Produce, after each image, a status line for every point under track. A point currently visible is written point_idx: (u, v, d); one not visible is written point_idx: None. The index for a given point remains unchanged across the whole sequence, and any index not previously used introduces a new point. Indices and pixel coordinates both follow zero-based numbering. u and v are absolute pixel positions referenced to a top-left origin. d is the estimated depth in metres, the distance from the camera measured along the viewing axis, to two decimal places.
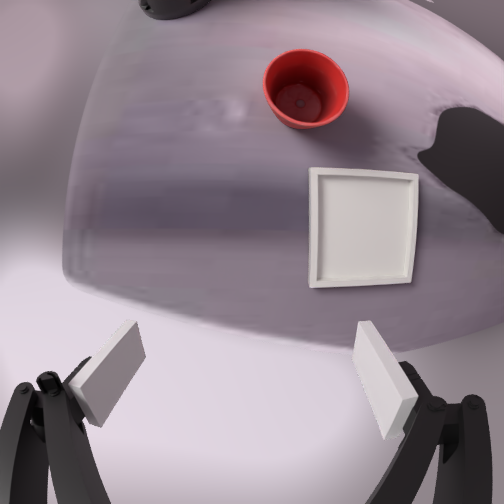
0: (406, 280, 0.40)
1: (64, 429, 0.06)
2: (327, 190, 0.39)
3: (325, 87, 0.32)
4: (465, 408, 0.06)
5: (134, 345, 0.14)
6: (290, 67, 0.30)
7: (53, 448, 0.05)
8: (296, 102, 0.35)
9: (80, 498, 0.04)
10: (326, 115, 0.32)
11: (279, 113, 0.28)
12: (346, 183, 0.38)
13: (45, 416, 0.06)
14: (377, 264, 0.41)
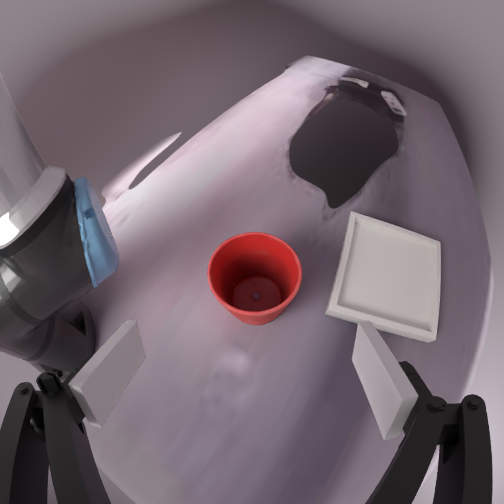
0: (438, 245, 0.39)
1: (64, 429, 0.06)
2: (352, 301, 0.37)
3: (252, 262, 0.38)
4: (465, 408, 0.06)
5: (134, 345, 0.14)
6: (220, 282, 0.34)
7: (53, 448, 0.05)
8: (254, 299, 0.38)
9: (80, 498, 0.04)
10: (283, 272, 0.36)
11: (276, 309, 0.28)
12: (349, 281, 0.39)
13: (45, 416, 0.06)
14: (423, 271, 0.38)
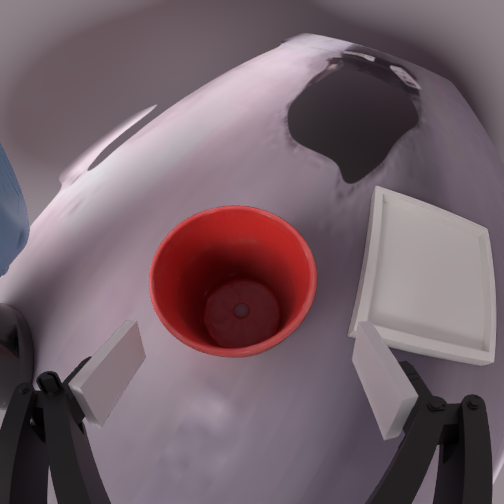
0: (486, 233, 0.25)
1: (64, 430, 0.06)
2: (387, 315, 0.23)
3: (233, 257, 0.24)
4: (465, 408, 0.06)
5: (134, 345, 0.14)
6: (179, 291, 0.20)
7: (53, 448, 0.05)
8: (237, 315, 0.24)
9: (80, 498, 0.04)
10: (282, 273, 0.22)
11: (270, 344, 0.14)
12: (380, 285, 0.25)
13: (45, 416, 0.06)
14: (472, 268, 0.25)
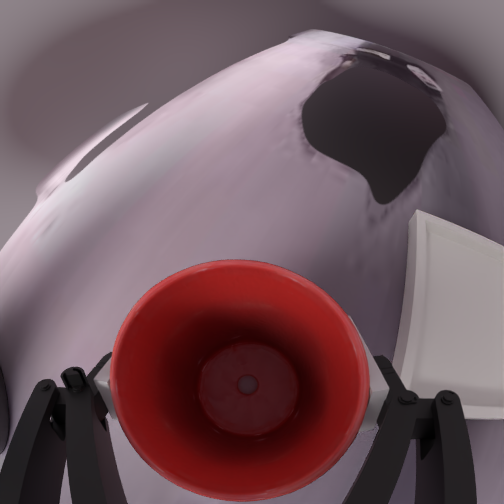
0: None
1: (86, 427, 0.07)
2: (428, 381, 0.16)
3: (236, 321, 0.16)
4: (439, 404, 0.07)
5: None
6: (159, 376, 0.13)
7: (73, 445, 0.06)
8: (243, 391, 0.17)
9: (96, 497, 0.04)
10: (307, 348, 0.15)
11: (295, 488, 0.07)
12: (423, 343, 0.17)
13: (67, 412, 0.07)
14: None
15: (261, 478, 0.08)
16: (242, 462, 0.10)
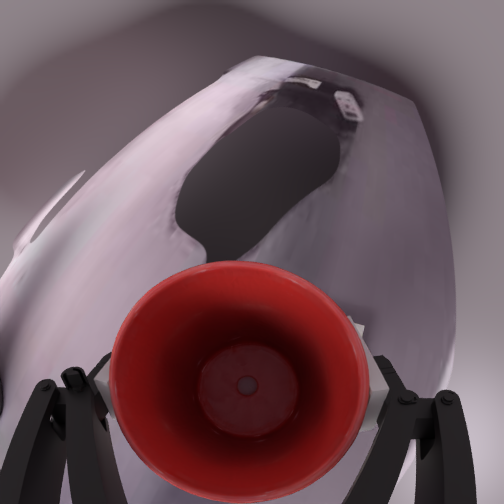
0: (359, 332, 0.29)
1: (86, 427, 0.07)
2: None
3: (235, 322, 0.16)
4: (439, 404, 0.07)
5: None
6: (159, 377, 0.13)
7: (73, 445, 0.06)
8: (242, 392, 0.17)
9: (96, 497, 0.04)
10: (306, 350, 0.15)
11: (294, 490, 0.07)
12: None
13: (67, 412, 0.07)
14: None
15: (260, 480, 0.08)
16: (241, 463, 0.10)
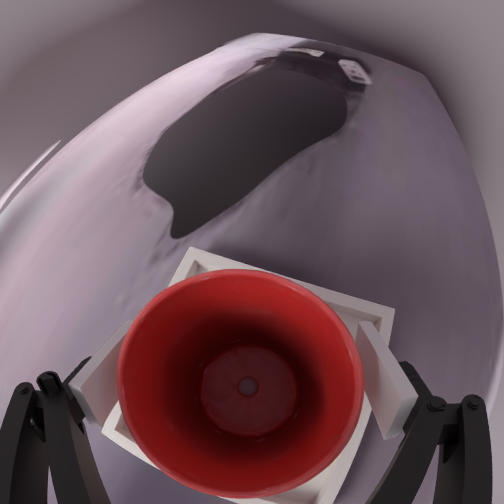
0: (388, 319, 0.19)
1: (64, 429, 0.06)
2: None
3: (237, 325, 0.17)
4: (465, 408, 0.06)
5: None
6: (163, 379, 0.13)
7: (53, 448, 0.05)
8: (243, 393, 0.17)
9: (80, 498, 0.04)
10: (305, 352, 0.15)
11: (293, 486, 0.07)
12: None
13: (45, 416, 0.06)
14: None
15: (261, 476, 0.09)
16: (243, 461, 0.11)
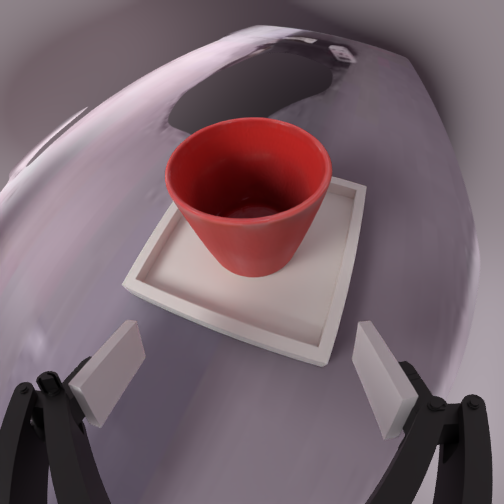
0: (361, 191, 0.25)
1: (64, 429, 0.06)
2: (171, 277, 0.23)
3: (246, 176, 0.23)
4: (465, 408, 0.06)
5: (134, 345, 0.14)
6: (192, 197, 0.20)
7: (53, 448, 0.05)
8: None
9: (80, 498, 0.04)
10: (295, 187, 0.22)
11: (290, 213, 0.14)
12: (175, 246, 0.25)
13: (45, 416, 0.06)
14: (325, 233, 0.25)
15: None
16: None
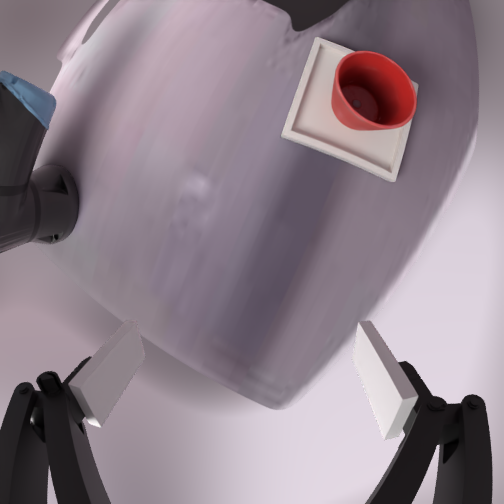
0: (415, 87, 0.31)
1: (65, 430, 0.06)
2: (309, 127, 0.35)
3: (357, 73, 0.29)
4: (465, 408, 0.06)
5: (134, 345, 0.14)
6: None
7: (53, 448, 0.05)
8: (355, 106, 0.33)
9: (80, 498, 0.04)
10: (386, 88, 0.29)
11: (401, 125, 0.25)
12: (307, 106, 0.34)
13: (45, 416, 0.06)
14: None
15: None
16: None
